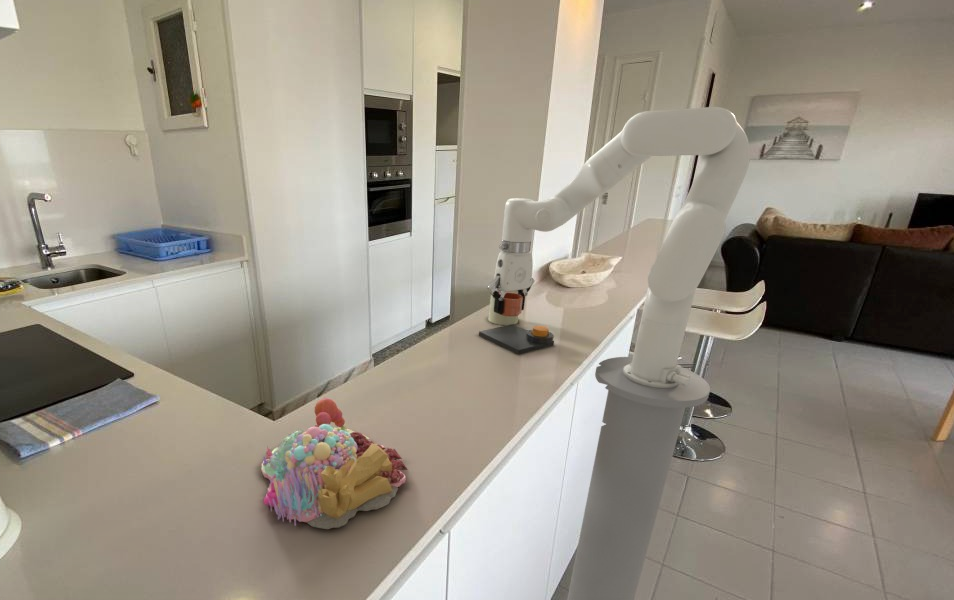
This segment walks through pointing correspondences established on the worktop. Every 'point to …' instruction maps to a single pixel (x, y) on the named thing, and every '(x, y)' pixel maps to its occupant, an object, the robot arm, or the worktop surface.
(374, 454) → the dessert platter
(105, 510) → the worktop surface
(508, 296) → the bowl
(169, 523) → the worktop surface
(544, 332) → the button
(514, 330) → the scale
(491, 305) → the can
